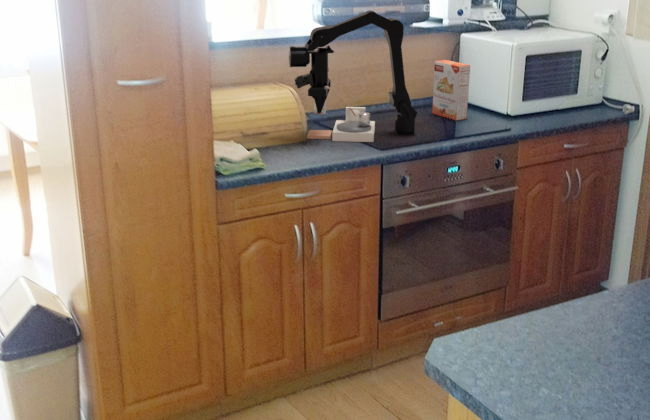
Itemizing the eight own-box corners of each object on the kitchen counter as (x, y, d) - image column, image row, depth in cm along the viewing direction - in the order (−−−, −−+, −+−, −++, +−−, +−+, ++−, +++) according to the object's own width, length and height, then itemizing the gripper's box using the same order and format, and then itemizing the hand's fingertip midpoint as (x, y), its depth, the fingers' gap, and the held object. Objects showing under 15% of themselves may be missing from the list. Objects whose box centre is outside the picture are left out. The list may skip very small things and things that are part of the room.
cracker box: (431, 114, 290) (433, 60, 283) (442, 112, 293) (446, 59, 286) (455, 121, 279) (458, 65, 272) (467, 119, 282) (471, 64, 275)
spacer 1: (326, 111, 258) (326, 99, 257) (325, 114, 254) (325, 101, 253) (314, 111, 259) (314, 98, 257) (313, 114, 255) (313, 101, 253)
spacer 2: (370, 124, 258) (370, 112, 257) (369, 127, 255) (369, 114, 253) (358, 124, 259) (358, 112, 257) (358, 127, 255) (358, 114, 253)
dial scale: (374, 129, 268) (375, 106, 265) (373, 142, 252) (373, 118, 249) (336, 128, 269) (336, 105, 266) (332, 141, 253) (332, 117, 250)
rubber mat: (331, 133, 263) (331, 130, 262) (330, 139, 255) (330, 136, 255) (309, 132, 263) (309, 129, 263) (306, 138, 256) (306, 135, 256)
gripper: (299, 61, 260) (300, 105, 266) (292, 71, 243) (293, 117, 248) (331, 61, 259) (331, 105, 265) (326, 71, 242) (326, 118, 247)
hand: (319, 111), depth 256 cm, fingers closed on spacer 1, 4 cm apart
